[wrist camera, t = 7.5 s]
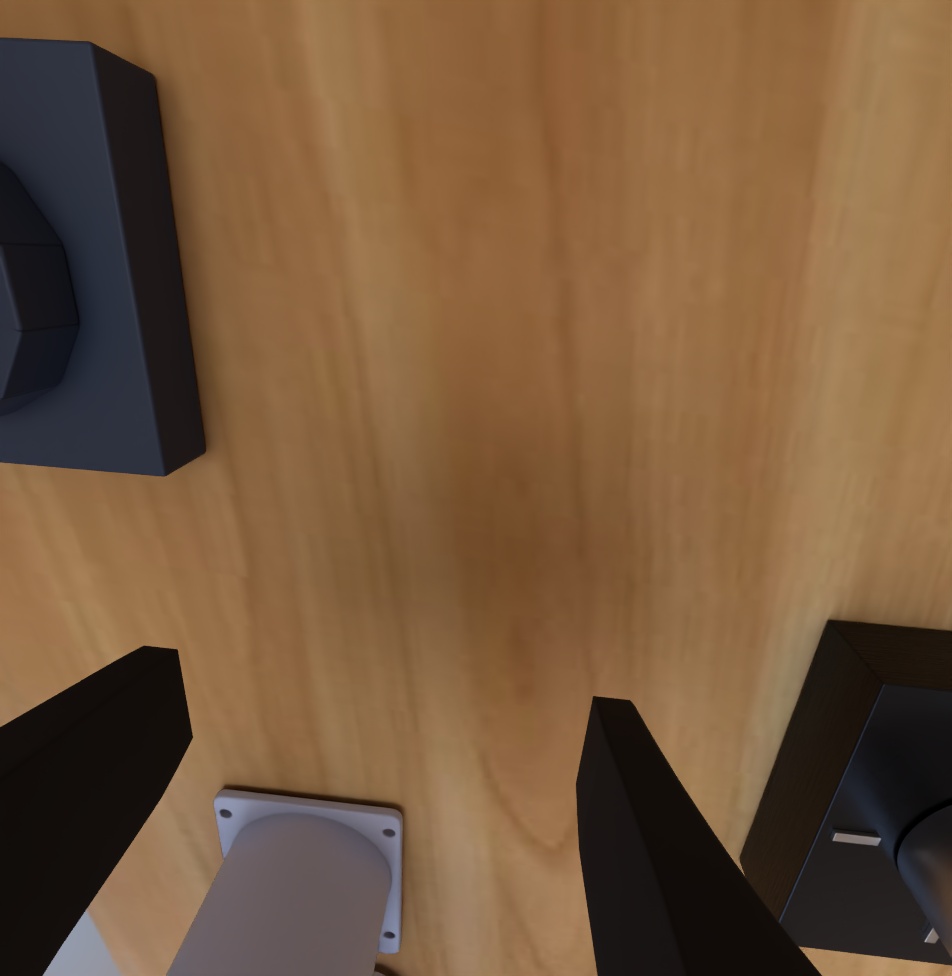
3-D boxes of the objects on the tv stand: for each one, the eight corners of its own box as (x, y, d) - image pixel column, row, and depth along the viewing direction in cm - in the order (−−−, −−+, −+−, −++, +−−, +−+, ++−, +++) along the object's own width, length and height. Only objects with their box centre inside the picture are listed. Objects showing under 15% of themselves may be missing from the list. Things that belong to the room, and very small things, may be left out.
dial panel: (991, 889, 22) (1062, 985, 19) (738, 860, 22) (771, 948, 20) (1148, 649, 17) (1275, 727, 14) (827, 619, 18) (887, 688, 15)
